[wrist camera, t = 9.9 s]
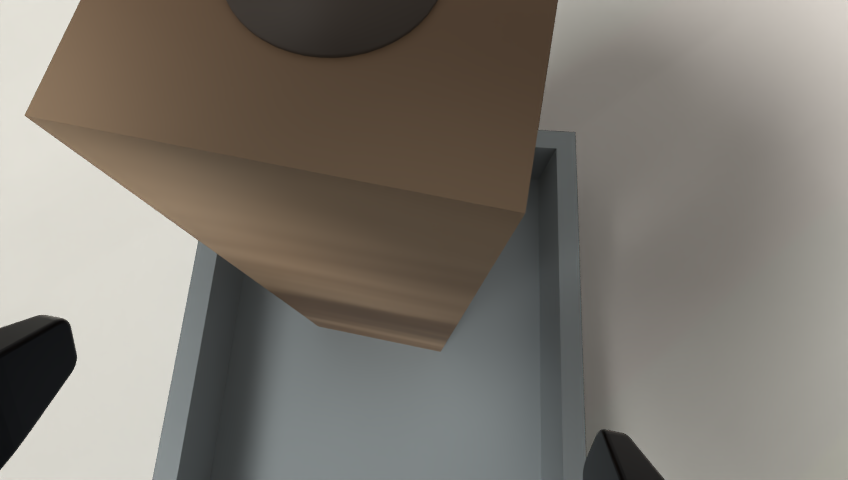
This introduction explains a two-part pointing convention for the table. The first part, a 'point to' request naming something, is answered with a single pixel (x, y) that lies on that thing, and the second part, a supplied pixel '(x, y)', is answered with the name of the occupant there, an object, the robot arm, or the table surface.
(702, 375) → the table surface
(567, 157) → the tray
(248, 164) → the block
